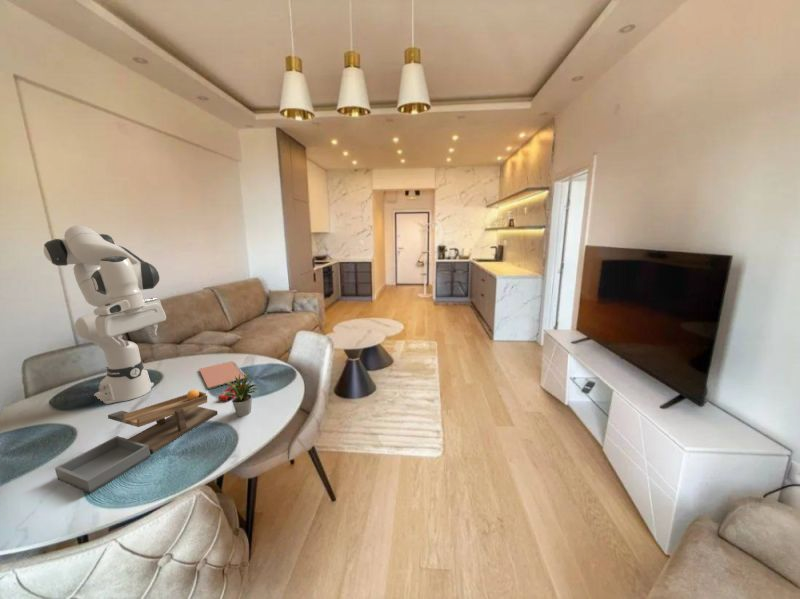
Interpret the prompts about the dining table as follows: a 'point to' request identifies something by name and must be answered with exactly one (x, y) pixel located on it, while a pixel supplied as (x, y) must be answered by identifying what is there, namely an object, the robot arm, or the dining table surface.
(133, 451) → the tray
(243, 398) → the house plant
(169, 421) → the lever stand
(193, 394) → the ball
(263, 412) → the dining table surface
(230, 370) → the notebook
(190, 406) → the lever
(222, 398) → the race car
